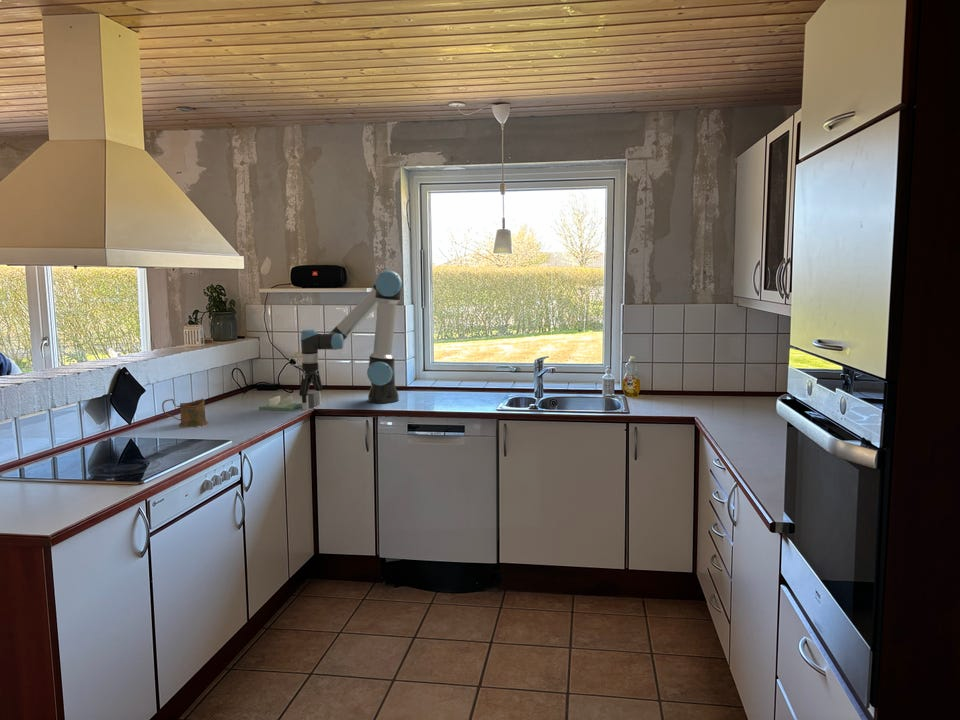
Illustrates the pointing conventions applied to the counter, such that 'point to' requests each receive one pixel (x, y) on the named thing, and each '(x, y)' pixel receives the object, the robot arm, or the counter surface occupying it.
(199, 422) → the mug
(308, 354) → the robot arm
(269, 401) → the board
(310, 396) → the plug
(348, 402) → the counter surface
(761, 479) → the counter surface
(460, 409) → the counter surface
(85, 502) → the counter surface
